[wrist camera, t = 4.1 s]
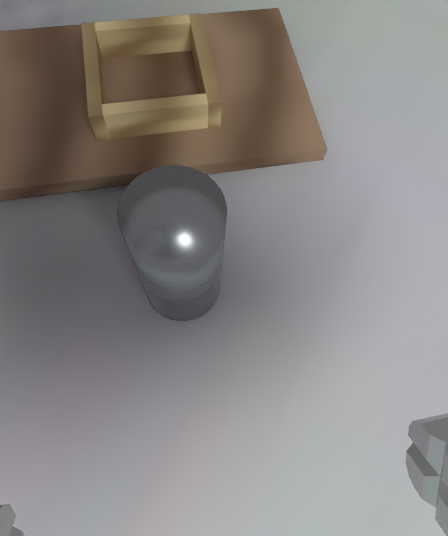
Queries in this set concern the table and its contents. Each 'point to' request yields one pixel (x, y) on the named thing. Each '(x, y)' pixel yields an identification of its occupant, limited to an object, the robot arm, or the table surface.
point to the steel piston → (175, 238)
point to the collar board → (150, 100)
